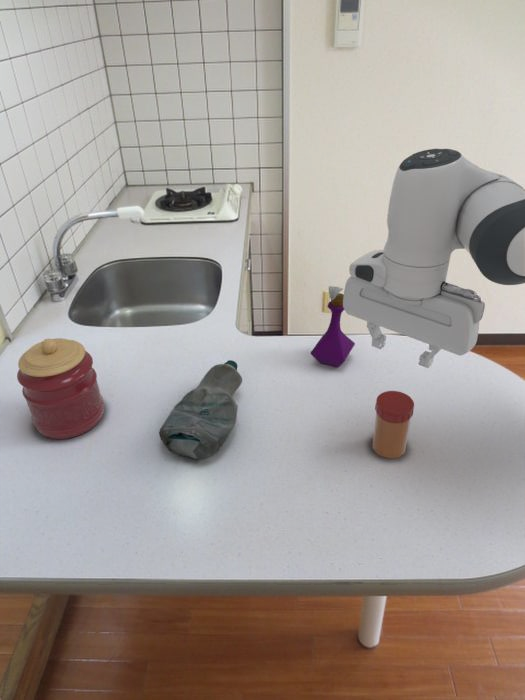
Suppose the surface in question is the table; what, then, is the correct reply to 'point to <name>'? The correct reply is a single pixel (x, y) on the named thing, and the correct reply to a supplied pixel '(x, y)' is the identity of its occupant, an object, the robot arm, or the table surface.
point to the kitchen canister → (60, 388)
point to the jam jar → (390, 438)
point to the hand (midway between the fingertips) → (401, 355)
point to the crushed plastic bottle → (204, 414)
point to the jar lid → (394, 406)
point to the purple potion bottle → (333, 335)
